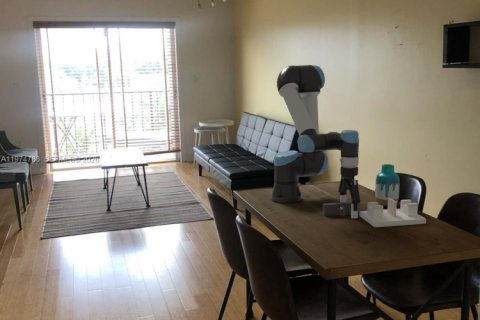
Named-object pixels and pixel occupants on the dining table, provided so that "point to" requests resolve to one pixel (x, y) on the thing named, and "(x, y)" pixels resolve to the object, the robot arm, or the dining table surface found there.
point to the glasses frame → (337, 208)
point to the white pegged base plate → (392, 214)
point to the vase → (386, 185)
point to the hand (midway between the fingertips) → (348, 213)
